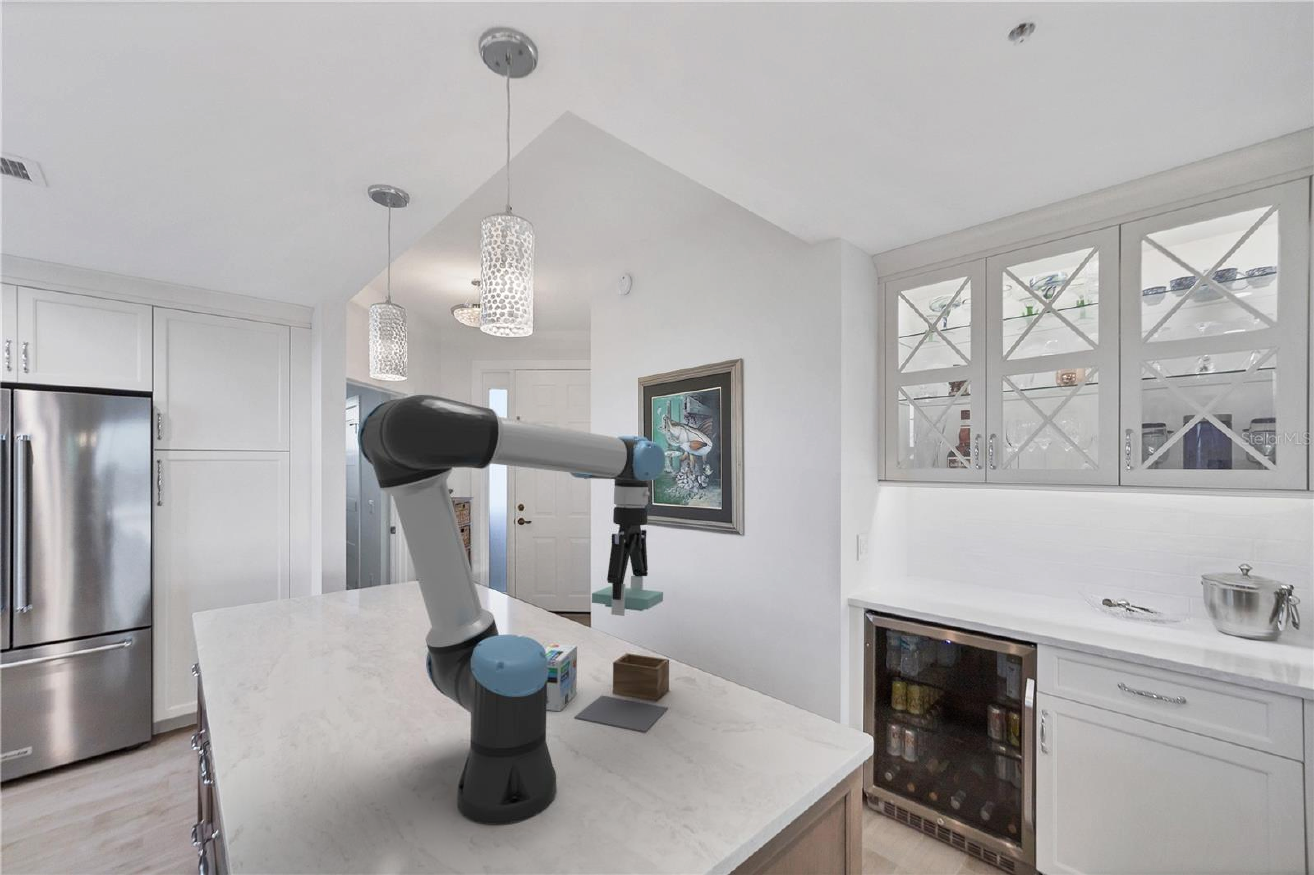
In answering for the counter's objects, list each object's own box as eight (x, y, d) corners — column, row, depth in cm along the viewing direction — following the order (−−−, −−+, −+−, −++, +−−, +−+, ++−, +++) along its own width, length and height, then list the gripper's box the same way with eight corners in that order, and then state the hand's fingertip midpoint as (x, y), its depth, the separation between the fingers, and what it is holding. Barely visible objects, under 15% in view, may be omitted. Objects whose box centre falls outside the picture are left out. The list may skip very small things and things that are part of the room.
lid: (647, 614, 119) (647, 599, 119) (591, 607, 124) (592, 593, 124) (662, 605, 127) (663, 592, 128) (609, 599, 132) (610, 586, 132)
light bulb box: (560, 712, 121) (561, 660, 122) (530, 709, 123) (531, 658, 123) (577, 692, 132) (578, 645, 132) (549, 690, 133) (550, 643, 133)
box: (657, 701, 127) (657, 669, 127) (612, 693, 131) (613, 662, 131) (668, 690, 133) (669, 659, 134) (626, 683, 138) (626, 653, 138)
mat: (645, 732, 112) (645, 731, 112) (574, 718, 118) (574, 716, 118) (668, 708, 123) (668, 707, 123) (601, 696, 129) (601, 695, 129)
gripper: (626, 509, 115) (622, 623, 114) (663, 505, 136) (661, 602, 134) (592, 507, 118) (588, 619, 117) (634, 503, 138) (631, 598, 137)
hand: (627, 610), depth 125 cm, fingers closed on lid, 9 cm apart
